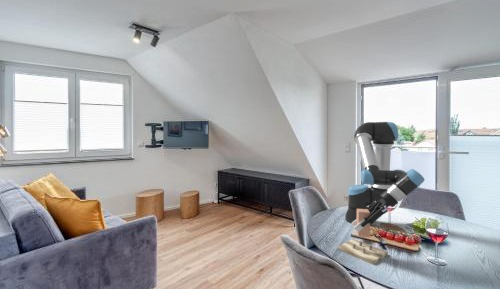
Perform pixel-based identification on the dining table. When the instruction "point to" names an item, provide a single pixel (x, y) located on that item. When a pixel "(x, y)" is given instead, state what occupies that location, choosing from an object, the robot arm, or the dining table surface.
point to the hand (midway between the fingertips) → (354, 227)
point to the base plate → (363, 251)
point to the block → (360, 216)
